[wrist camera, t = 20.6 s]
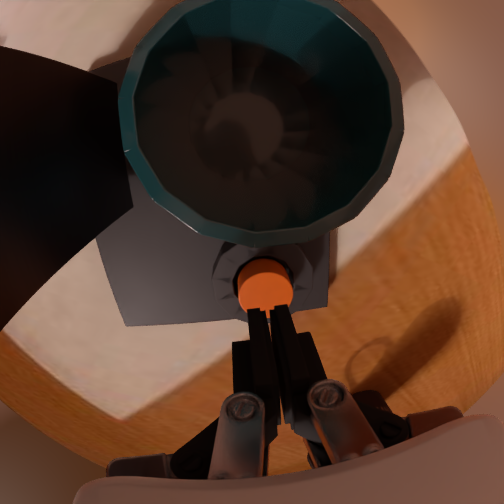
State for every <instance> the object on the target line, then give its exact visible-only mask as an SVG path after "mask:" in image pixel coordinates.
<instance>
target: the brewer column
mask: <svg viewBox="0 0 504 504" xmlns="http://www.w3.org/2000/svg"><path fill="white" fill-rule="evenodd" d="M133 207H134V206H133V201H132V196H131V190H130V185H129V179H128V173H127V167H126V161H125V154H124V151H123V144H122V136H121V128H120V119H119V108H118V90H117V83H116V82H113V81H111V80H108V79H106V78H103V77H101V76H98V75H96V74H93V73H90V72H87V71H85V70H82V69H79V68H76V67H73V66H70V65H67V64H64V63H61V62H58V61H55V60H52V59H49V58H45V57H42V56H38V55H35V54H31V53H28V52H24V51H20V50H16V49H12V48H7V47H3V46H0V331H1V330H2V329H3V328H4V327H5V325H6V324H7V323H8V322H9V321H10V320H11V319H12V317H13V316H14V315H15V314H16V313H17V312H18V311H19V310H20V309H21V307H22V306H23V305H24V304H25V303H26V302H27V301H28V300H29V299H30V298H31V297H32V296H33V295H34V294H35V293H36V292H37V291H38V290H39V289H40V288H41V287H42V286H43V285H44V284H45V283H46V282H47V281H48V280H49V279H50V278H51V277H52V276H53V275H54V274H55V273H56V272H57V271H58V270H59V269H60V268H61V267H62V266H64V265H65V264H66V263H67V262H68V261H69V260H70V259H71V258H72V257H73V256H75V255H76V254H77V253H78V252H79V251H80V250H81V249H82V248H84V247H85V246H86V245H87V244H88V243H89V242H91V241H92V240H93V239H94V238H95V237H97V236H98V235H99V234H100V233H101V232H103V231H104V230H105V229H106V228H107V227H109V226H110V225H111V224H112V223H114V222H115V221H116V220H117V219H119V218H120V217H121V216H123V215H124V214H125V213H126V212H128V211H129V210H130V209H132V208H133Z"/></svg>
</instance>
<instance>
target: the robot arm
mask: <svg viewBox="0 0 504 504" xmlns="http://www.w3.org/2000/svg"><path fill="white" fill-rule="evenodd" d="M269 313H270V326H271V336H270V331H269V326H268V321H267V316H266V311H265V310H264V311H260V308H252V309H247V316H248V326H249V335H250V340H246V341H237V342H232V362H233V391H234V394H232V395H230V396H229V397H227V398H226V399H225V401H224V402H223V404H222V406H221V411H220V416H219V417H218V418H217V419H216V420H215V421H214V422H212V423H211V424H210V425H209V426H208V427H206V428H205V429H204V430H203V431H201V432H200V433H199V434H198V435H196V436H195V437H194V438H193V439H191V440H190V441H189V442H188V443H186V444H185V445H184V446H182V447H181V448H180V449H178V450H177V451H176V452H175V453H174V454H168V455H166V454H165V453H161V454H153V455H145V456H135V457H122V458H116V459H113V460H112V461H111V462H109V464H108V465H107V469H106V477H105V478H101V479H96V480H93V481H90V482H88V483H86V484H84V485H83V486H82V487H81V488H80V489H79V491H78V492H77V494H76V496H75V499H74V501H73V504H504V423H503V422H502V421H501V420H500V419H498V418H497V417H495V416H493V415H488V414H479V415H478V414H477V415H470V416H466V417H463V414H462V413H461V411H460V410H459V409H458V408H456V407H453V406H447V407H443V408H438V409H434V410H429V411H424V412H418V413H413V414H408V415H407V416H406V417H400V416H398V415H395V414H392V413H390V412H387V411H384V410H381V409H379V408H376V407H373V406H371V405H368V404H366V403H363V402H360V401H358V400H355V399H353V397H352V395H351V394H350V392H349V391H348V389H347V387H346V386H345V385H344V384H343V383H341V382H339V381H337V380H333V379H327V377H326V374H325V371H324V368H323V366H322V363H321V360H320V357H319V355H318V352H317V349H316V346H315V344H314V341H313V338H312V336H311V333H310V332H304V333H296V330H295V327H294V324H293V321H292V317H291V314H290V311H289V308H288V305H287V304H283V305H276V306H274V309H272V310H269ZM271 340H272V342H271ZM280 399H281V404H282V410H283V415H284V420H285V424H288V423H290V424H291V429H292V430H294V433H296V434H298V435H300V436H302V437H303V441H304V443H305V445H306V448H307V450H308V452H309V455H310V457H311V459H312V462H313V464H314V466H315V468H316V469H311V470H306V471H300V472H294V473H288V474H282V475H274V476H268V468H269V449H270V445H269V444H270V443H271V442H272V441H273V440H274V439H275V438H276V437H277V435H278V433H277V425H281V410H280Z"/></svg>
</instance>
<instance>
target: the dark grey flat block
mask: <svg viewBox="0 0 504 504" xmlns="http://www.w3.org/2000/svg"><path fill="white" fill-rule="evenodd" d="M130 59H131V57H130V58H126V59H123V60H120V61H117V62H114V63H111V64H108V65H105V66H103V67H100V68H97V69H95V70H92V71H90V73H93V74H96V75H98V76H101V77H103V78H106V79H108V80H111V81H113V82H116V83H117V90H118V95H119V92H120V89H121V86H122V82H123V79H124V76H125V73H126V70H127V67H128V65H129V62H130ZM118 99H119V98H118ZM124 154H125V152H124ZM125 161H126V167H127V173H128V179H129V185H130V190H131V196H132V201H133V206H134V207H133V208H132V209H130V210H129V211H128V212H126V213H125V214H124V215H123V216H121V217H120V218H119V219H117V220H116V221H115V222H114V223H112V224H111V225H110V226H109V227H107V228H106V229H105V230H104V231H103V232H101V233H100V234H99V235H98V236H97V237H95V238H96V241H97V245H98V248H99V252H100V255H101V258H102V262H103V265H104V268H105V271H106V274H107V277H108V280H109V283H110V286H111V289H112V292H113V294H114V297H115V300H116V302H117V305H118V308H119V310H120V313H121V315H122V318H123V320H124V323H125V325H126V326H148V325H167V324H183V323H196V322H208V321H219V320H230V319H238V320H241V321H244V322H247V323H248V316H247V312H245V311H244V310H243V308H242V307H241V305H240V303H239V299H238V276H239V274H240V272H241V270H242V269H243V267H244V266H245V265H247V264H248V263H250V262H251V261H254V260H256V259H262V258H267V259H272V260H275V261H277V262H279V263H280V264H281V265H282V266H283V267H284V268H285V270H286V272H287V274H288V277H289V279H290V282H291V285H292V288H293V299H292V301H291V303H290V305H289V307H288V308H289V311H290V314H293V313H294V312H296V311H303V310H309V309H316V308H322V307H327V303H328V282H329V241H330V231H329V232H328V233H326V234H324V235H322V236H320V237H318V238H316V239H314V240H312V241H308V242H306V243H297V244H288V245H279V246H270V247H262V248H254V247H253V248H250V247H246V246H242V245H239V244H235V243H231V242H227V241H223V240H219V239H215V238H211V237H207V236H203V235H200V234H199V233H196V232H195V231H193V230H192V229H191V228H189V227H188V226H187V225H185V224H184V223H182V222H181V221H180V220H178V219H177V218H175V217H174V216H173V215H171V214H170V213H169V212H167V211H166V210H164V209H163V208H162V207H160V206H159V205H158V204H156V203H155V202H154V200H152V199H151V198H150V196H149V194H148V193H147V191H146V189H145V188H144V186H143V185H142V183H141V181H140V180H139V178H138V176H137V175H136V173H135V171H134V170H133V168H132V166H131V165H130V163H129V161H128V159H127V158H126V156H125ZM267 321H268V323H270V318H267Z"/></svg>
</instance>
